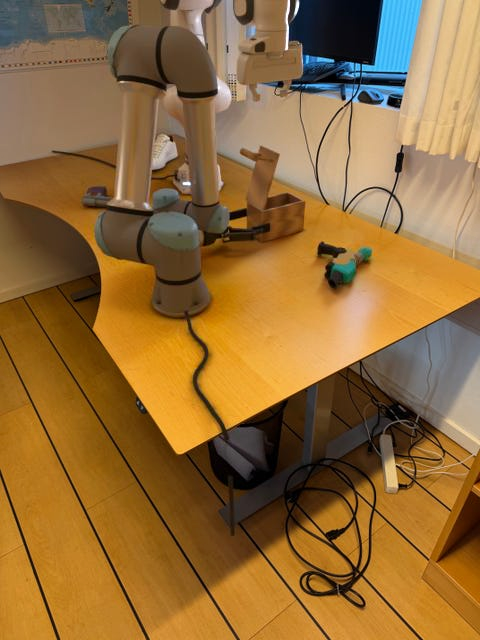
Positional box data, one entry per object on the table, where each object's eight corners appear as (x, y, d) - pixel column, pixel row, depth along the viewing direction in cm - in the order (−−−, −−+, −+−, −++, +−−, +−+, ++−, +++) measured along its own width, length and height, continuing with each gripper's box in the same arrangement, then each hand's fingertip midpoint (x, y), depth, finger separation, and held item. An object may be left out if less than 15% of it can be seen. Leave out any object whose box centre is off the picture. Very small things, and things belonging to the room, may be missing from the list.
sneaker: (133, 173, 208) (129, 144, 201) (161, 153, 230) (158, 127, 223) (155, 175, 205) (151, 146, 198) (180, 155, 227) (178, 129, 220)
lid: (262, 145, 146) (240, 141, 142) (280, 154, 140) (257, 149, 135) (247, 200, 154) (226, 197, 149) (263, 210, 147) (242, 207, 142)
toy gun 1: (138, 196, 186) (123, 211, 174) (94, 193, 189) (76, 208, 177) (137, 186, 184) (121, 201, 172) (92, 183, 187) (74, 198, 175)
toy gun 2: (295, 270, 129) (349, 283, 123) (327, 233, 148) (374, 243, 142) (294, 284, 132) (346, 297, 126) (325, 246, 150) (372, 256, 145)
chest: (286, 220, 167) (288, 191, 161) (303, 230, 160) (305, 200, 154) (246, 231, 160) (246, 201, 154) (262, 242, 153) (262, 211, 147)
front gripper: (182, 231, 155) (238, 216, 164) (219, 262, 138) (279, 244, 147) (180, 209, 151) (237, 195, 160) (218, 239, 134) (280, 222, 142)
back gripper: (295, 39, 133) (292, 92, 141) (232, 44, 124) (233, 101, 132) (309, 41, 128) (305, 96, 137) (246, 46, 120) (246, 105, 128)
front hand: (257, 219), depth 153 cm, fingers open, 13 cm apart
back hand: (270, 99), depth 134 cm, fingers open, 8 cm apart
